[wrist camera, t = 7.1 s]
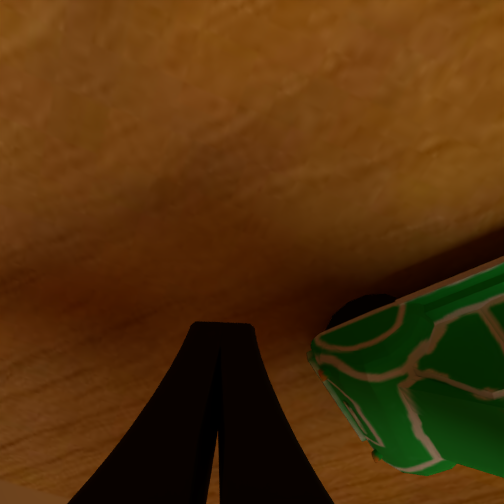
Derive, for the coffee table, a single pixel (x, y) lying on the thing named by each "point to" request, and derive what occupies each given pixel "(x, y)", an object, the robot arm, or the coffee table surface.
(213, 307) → the coffee table surface
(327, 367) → the toy car
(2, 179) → the coffee table surface
